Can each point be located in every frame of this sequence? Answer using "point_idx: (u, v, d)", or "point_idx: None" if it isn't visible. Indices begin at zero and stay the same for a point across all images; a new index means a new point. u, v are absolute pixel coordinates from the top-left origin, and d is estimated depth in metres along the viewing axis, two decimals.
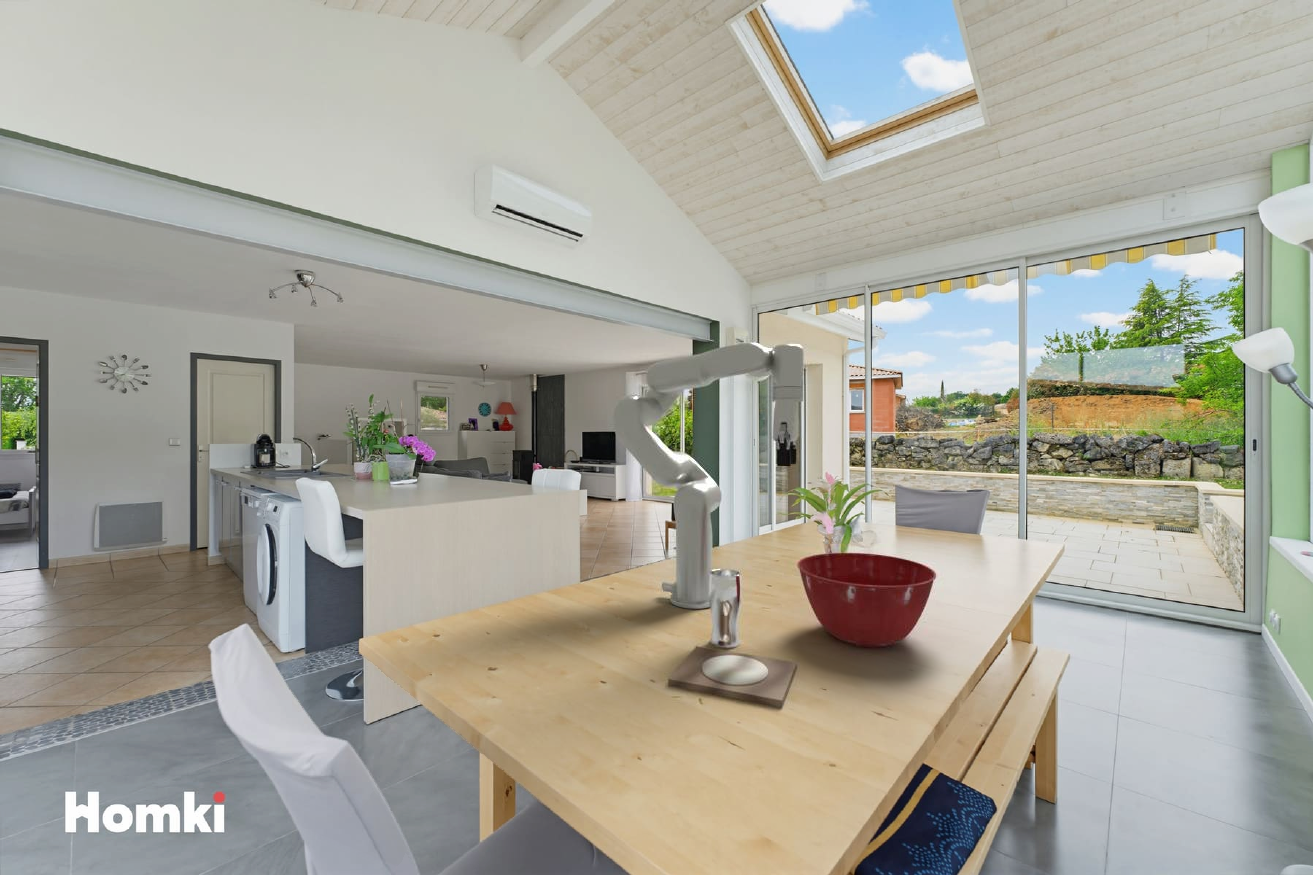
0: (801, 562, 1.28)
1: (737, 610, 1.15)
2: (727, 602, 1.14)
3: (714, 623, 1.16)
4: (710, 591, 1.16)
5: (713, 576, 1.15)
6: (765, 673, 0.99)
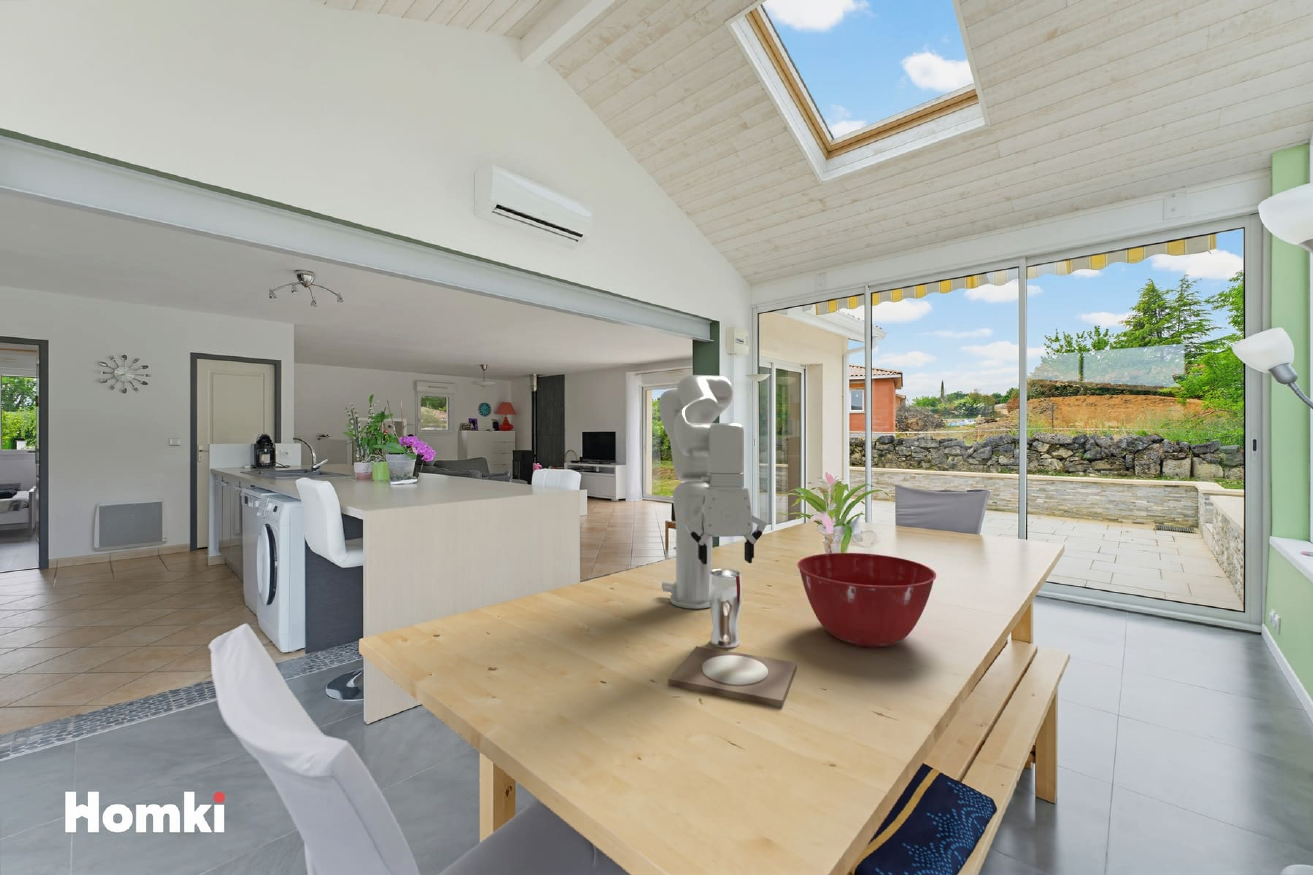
0: (801, 562, 1.28)
1: (737, 610, 1.15)
2: (727, 602, 1.14)
3: (714, 623, 1.16)
4: (710, 591, 1.16)
5: (713, 576, 1.15)
6: (765, 673, 0.99)
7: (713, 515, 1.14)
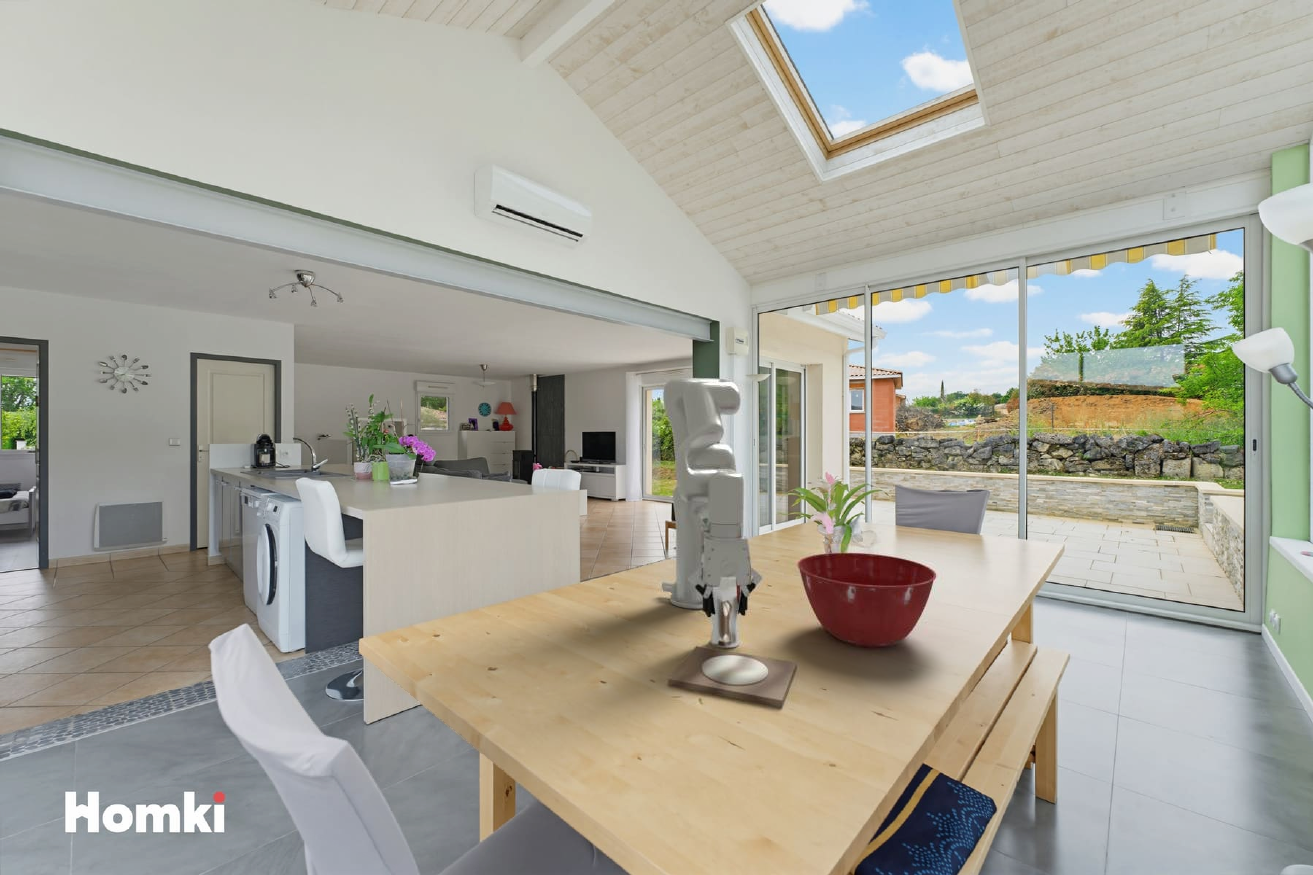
0: (801, 562, 1.28)
1: (737, 610, 1.15)
2: (727, 602, 1.14)
3: (714, 623, 1.16)
4: None
5: None
6: (765, 673, 0.99)
7: (712, 566, 1.14)
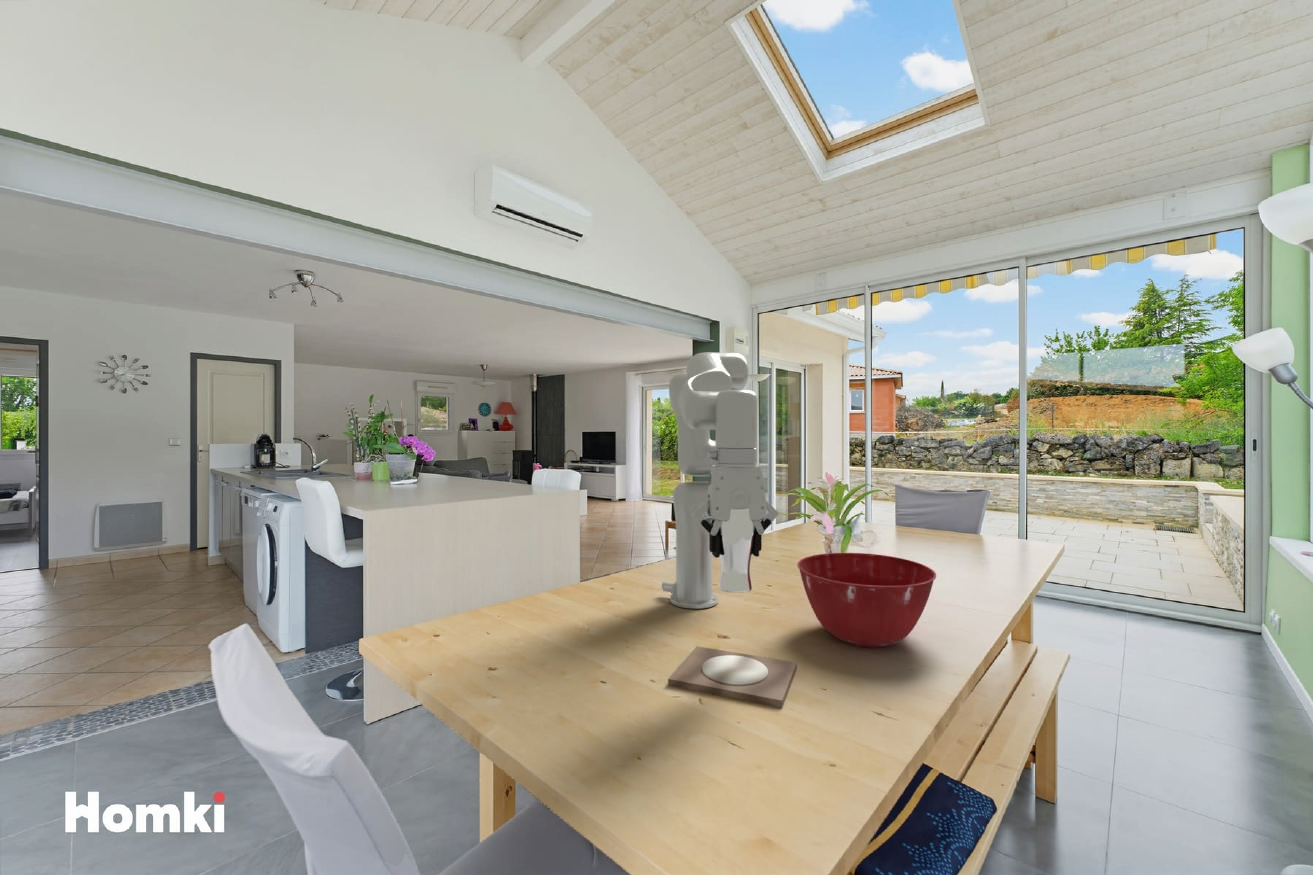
0: (801, 562, 1.28)
1: (750, 549, 0.99)
2: (738, 539, 0.98)
3: (723, 564, 1.00)
4: None
5: None
6: (765, 673, 0.99)
7: (721, 497, 0.98)
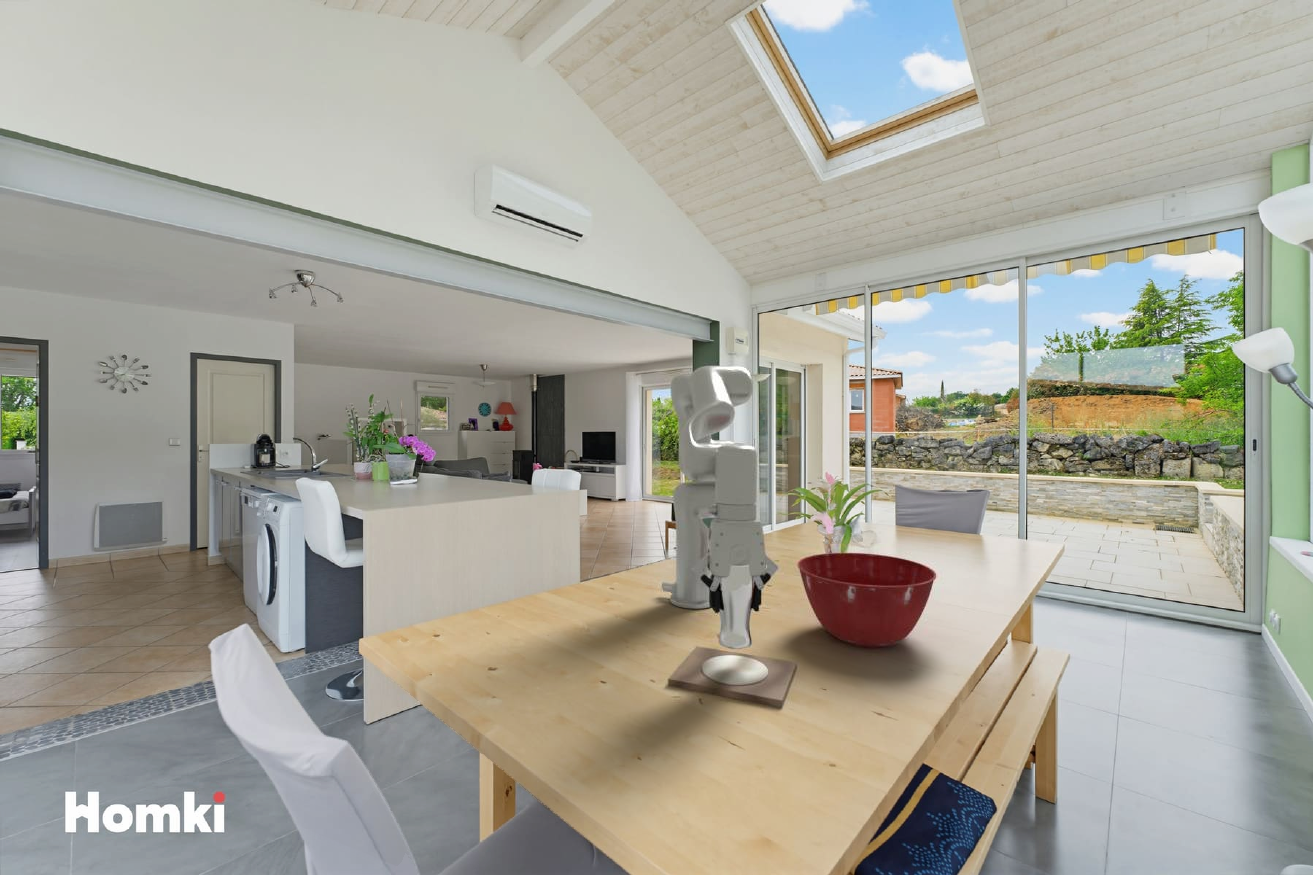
0: (801, 562, 1.28)
1: (750, 605, 0.99)
2: (738, 595, 0.98)
3: (723, 620, 1.00)
4: None
5: None
6: (765, 673, 0.99)
7: (721, 553, 0.98)
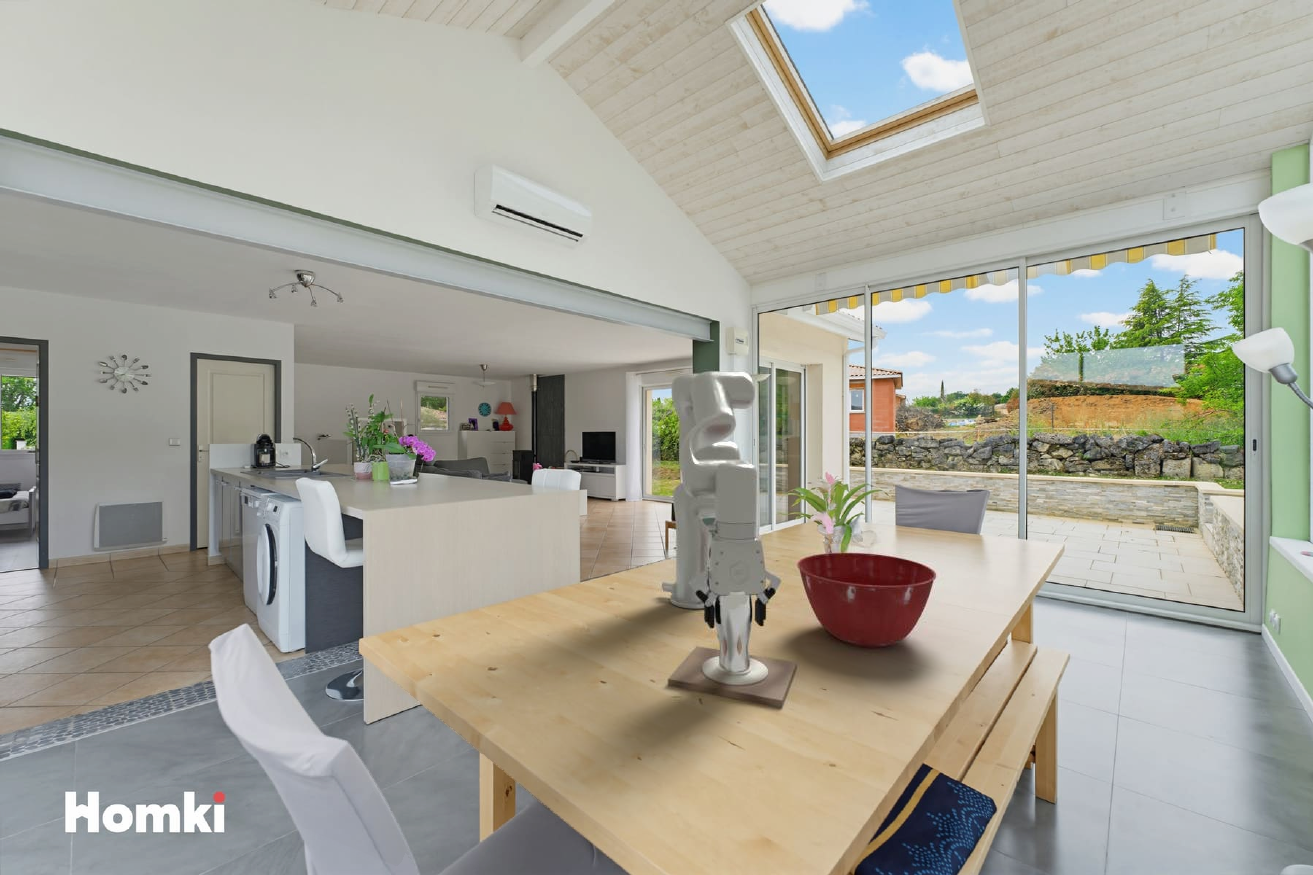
0: (801, 562, 1.28)
1: (748, 630, 0.99)
2: (736, 621, 0.98)
3: (722, 645, 1.00)
4: (716, 609, 1.00)
5: None
6: (765, 673, 0.99)
7: (720, 571, 0.98)
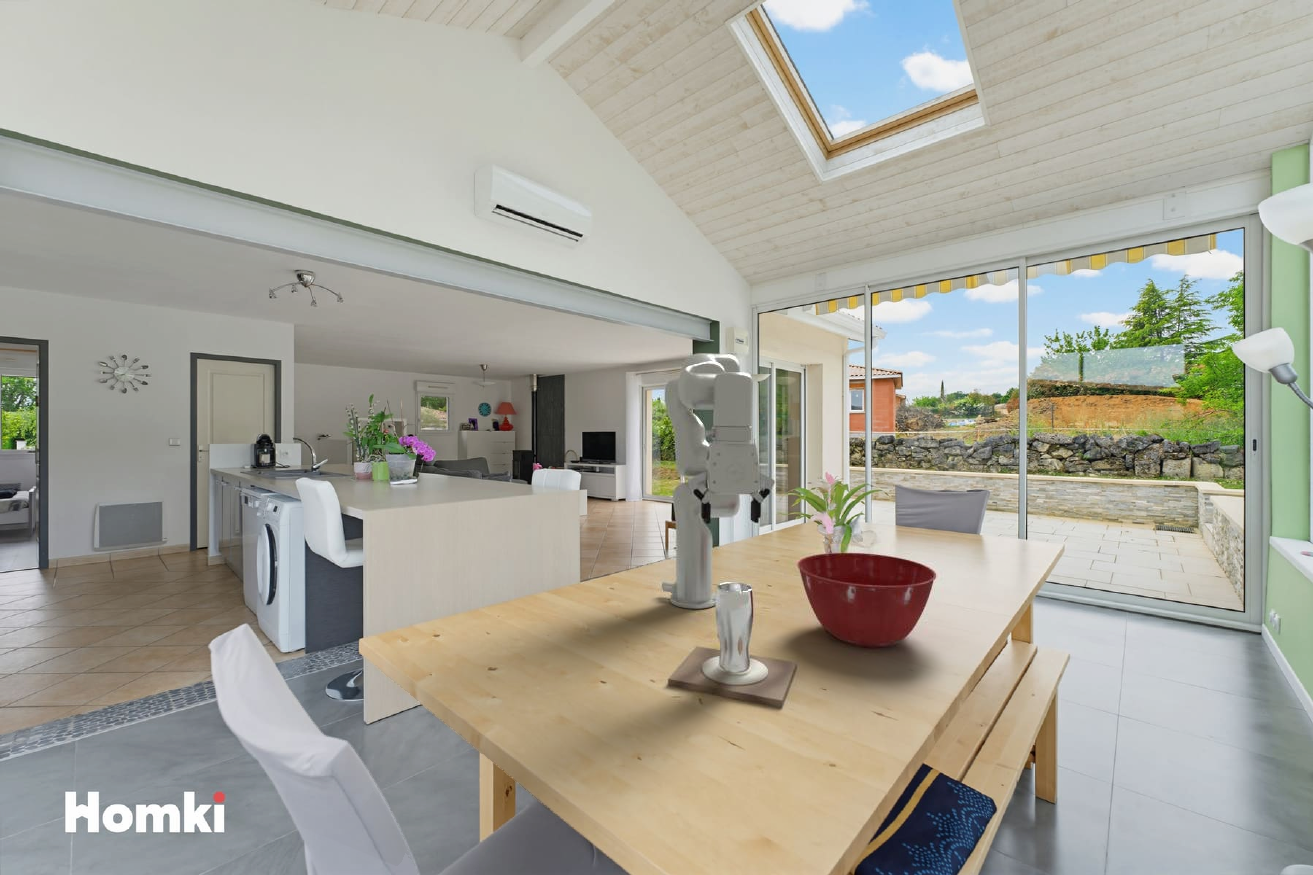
0: (801, 562, 1.28)
1: (749, 630, 0.99)
2: (737, 621, 0.98)
3: (722, 645, 1.00)
4: (717, 608, 1.00)
5: (721, 591, 0.99)
6: (765, 673, 0.99)
7: (717, 471, 1.06)
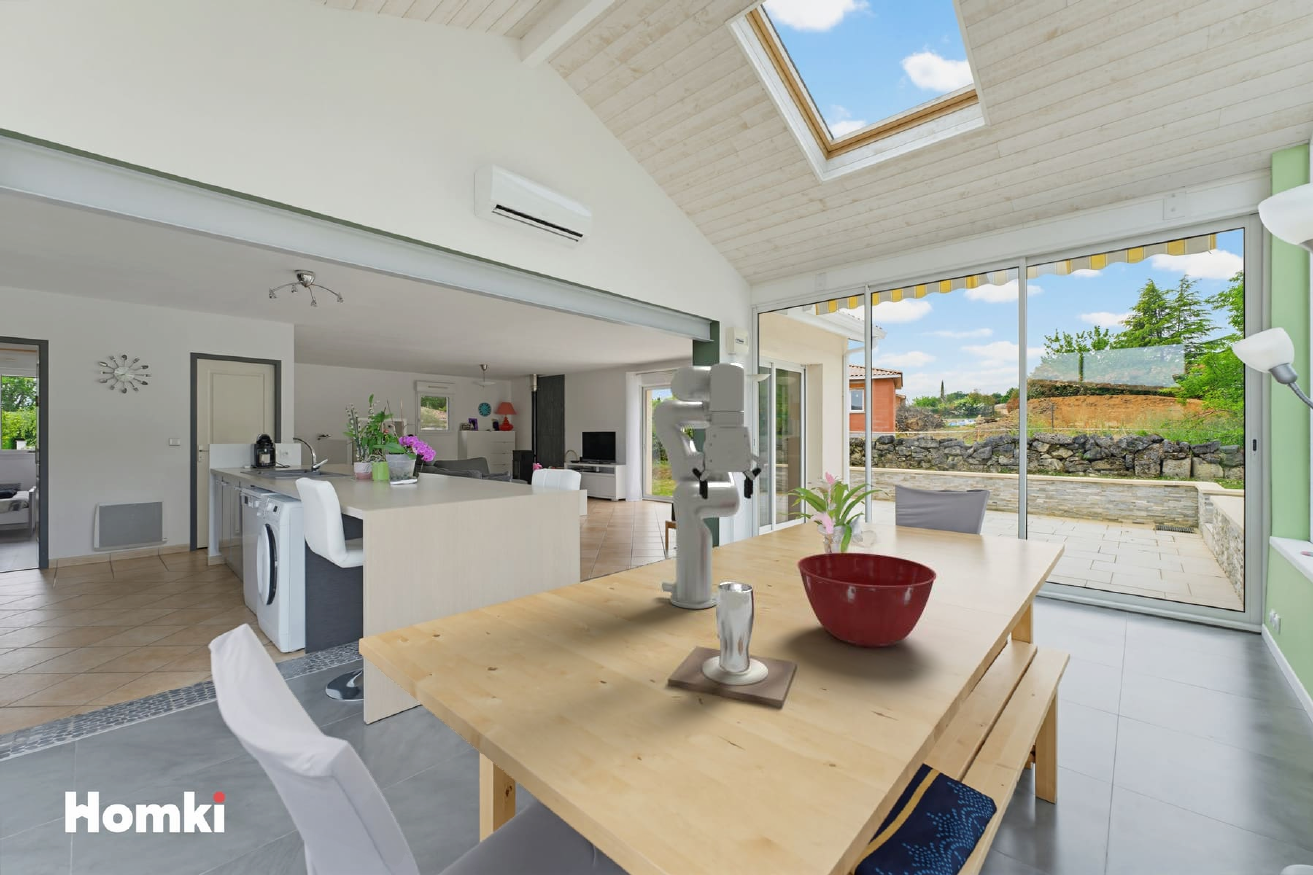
0: (801, 562, 1.28)
1: (749, 631, 0.99)
2: (738, 622, 0.98)
3: (723, 645, 1.00)
4: (718, 608, 1.00)
5: (721, 591, 0.99)
6: (765, 673, 0.99)
7: (714, 451, 1.18)
